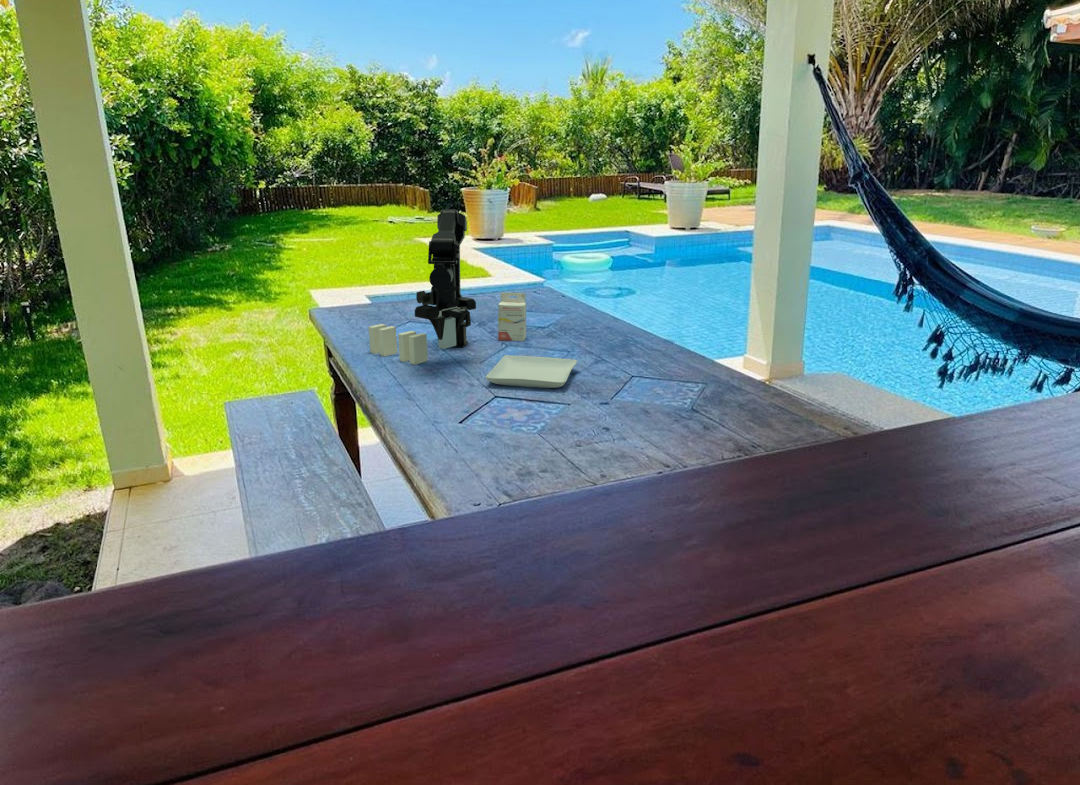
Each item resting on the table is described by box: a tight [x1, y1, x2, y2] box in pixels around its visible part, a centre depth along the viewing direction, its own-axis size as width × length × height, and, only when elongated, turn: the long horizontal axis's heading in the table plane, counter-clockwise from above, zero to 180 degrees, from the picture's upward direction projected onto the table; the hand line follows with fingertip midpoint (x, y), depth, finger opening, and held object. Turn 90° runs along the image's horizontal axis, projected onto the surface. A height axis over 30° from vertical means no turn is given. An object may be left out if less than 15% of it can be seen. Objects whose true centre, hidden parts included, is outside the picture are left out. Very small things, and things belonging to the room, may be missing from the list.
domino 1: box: [368, 323, 387, 355], centre depth 231 cm, size 2×5×8 cm, turn 140°
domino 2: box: [378, 325, 398, 357], centre depth 229 cm, size 2×5×8 cm, turn 140°
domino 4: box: [409, 332, 429, 366], centre depth 221 cm, size 2×5×8 cm, turn 140°
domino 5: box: [437, 317, 456, 350], centre depth 217 cm, size 2×5×8 cm, turn 140°
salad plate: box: [485, 354, 578, 389], centre depth 207 cm, size 21×21×3 cm
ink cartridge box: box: [497, 291, 527, 342], centre depth 245 cm, size 9×5×15 cm, turn 84°
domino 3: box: [397, 330, 417, 363], centre depth 223 cm, size 2×5×8 cm, turn 140°
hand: (447, 337), depth 217 cm, fingers closed on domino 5, 5 cm apart
